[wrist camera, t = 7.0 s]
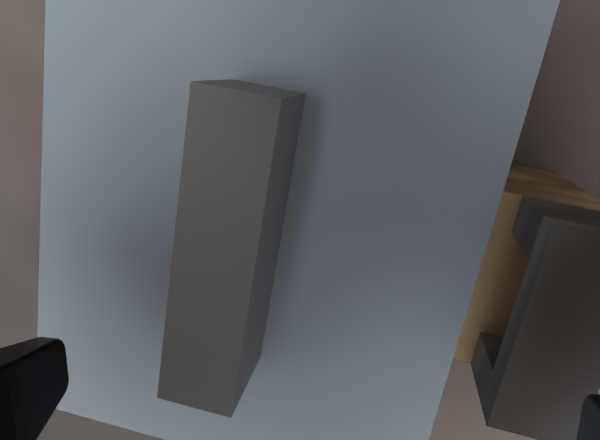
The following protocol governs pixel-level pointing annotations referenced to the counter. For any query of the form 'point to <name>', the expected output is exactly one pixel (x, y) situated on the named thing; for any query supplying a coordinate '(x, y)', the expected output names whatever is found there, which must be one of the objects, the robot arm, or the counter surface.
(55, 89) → the lid
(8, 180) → the counter surface
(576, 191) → the toolbox
